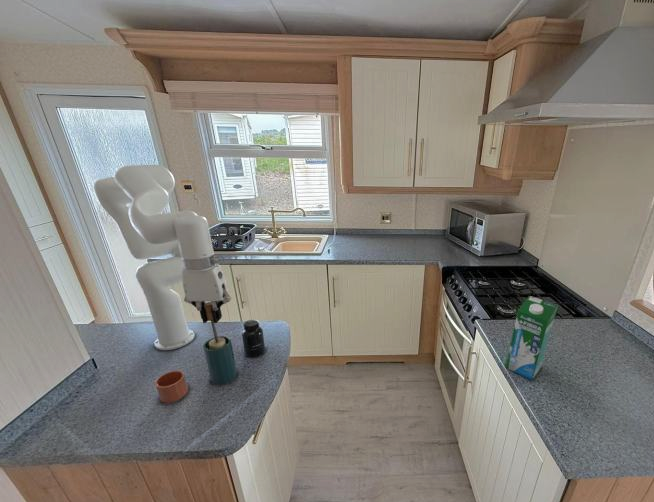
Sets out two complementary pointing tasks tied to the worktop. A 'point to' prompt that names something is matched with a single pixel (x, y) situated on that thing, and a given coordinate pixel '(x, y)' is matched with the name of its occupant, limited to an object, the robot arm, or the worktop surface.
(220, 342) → the brush
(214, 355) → the cup
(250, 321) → the supplement bottle
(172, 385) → the cup
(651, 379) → the worktop surface
